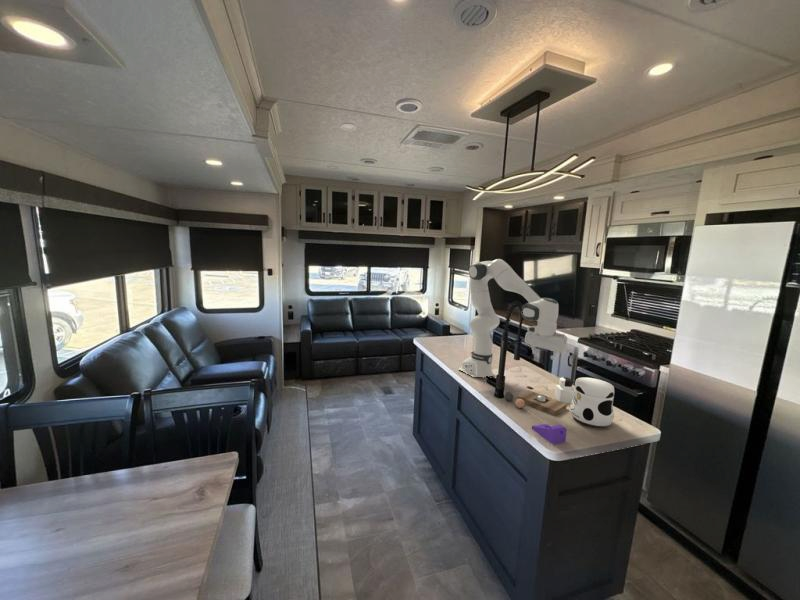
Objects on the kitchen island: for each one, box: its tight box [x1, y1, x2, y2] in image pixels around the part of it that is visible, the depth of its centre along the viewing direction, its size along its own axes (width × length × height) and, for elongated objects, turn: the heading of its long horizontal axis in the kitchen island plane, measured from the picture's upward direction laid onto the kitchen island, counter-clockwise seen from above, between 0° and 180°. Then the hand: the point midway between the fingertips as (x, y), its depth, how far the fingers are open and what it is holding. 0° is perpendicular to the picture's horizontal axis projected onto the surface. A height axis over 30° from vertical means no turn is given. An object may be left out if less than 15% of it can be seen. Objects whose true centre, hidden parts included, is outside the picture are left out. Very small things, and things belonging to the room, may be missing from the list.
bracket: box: [531, 423, 568, 445], centre depth 135 cm, size 12×7×7 cm, turn 17°
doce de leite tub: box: [569, 377, 615, 428], centre depth 147 cm, size 17×17×18 cm
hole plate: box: [516, 389, 568, 416], centre depth 163 cm, size 20×12×2 cm, turn 40°
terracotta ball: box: [514, 398, 526, 409], centre depth 159 cm, size 4×4×4 cm
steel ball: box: [536, 395, 546, 404], centre depth 163 cm, size 4×4×4 cm
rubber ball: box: [504, 391, 514, 401], centre depth 167 cm, size 4×4×4 cm
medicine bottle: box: [554, 376, 574, 404], centre depth 168 cm, size 7×7×12 cm
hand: (543, 356), depth 162 cm, fingers open, 8 cm apart
